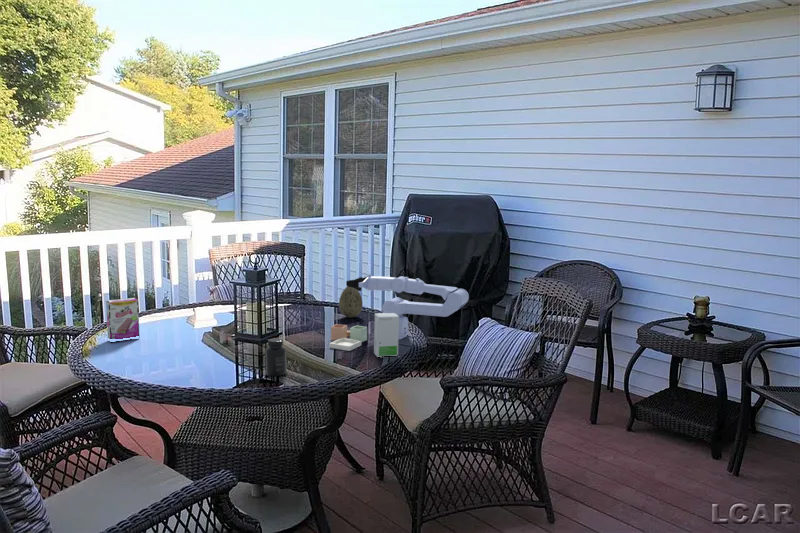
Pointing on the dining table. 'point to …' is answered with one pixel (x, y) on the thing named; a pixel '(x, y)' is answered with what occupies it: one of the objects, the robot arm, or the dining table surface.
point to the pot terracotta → (338, 332)
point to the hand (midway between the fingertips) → (351, 282)
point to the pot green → (358, 333)
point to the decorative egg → (350, 302)
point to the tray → (345, 344)
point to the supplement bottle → (275, 358)
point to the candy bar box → (122, 318)
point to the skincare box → (386, 334)
